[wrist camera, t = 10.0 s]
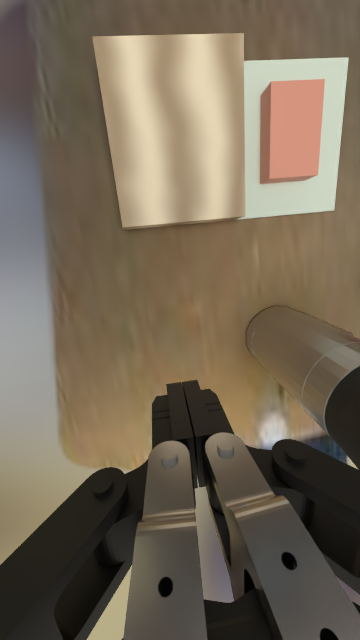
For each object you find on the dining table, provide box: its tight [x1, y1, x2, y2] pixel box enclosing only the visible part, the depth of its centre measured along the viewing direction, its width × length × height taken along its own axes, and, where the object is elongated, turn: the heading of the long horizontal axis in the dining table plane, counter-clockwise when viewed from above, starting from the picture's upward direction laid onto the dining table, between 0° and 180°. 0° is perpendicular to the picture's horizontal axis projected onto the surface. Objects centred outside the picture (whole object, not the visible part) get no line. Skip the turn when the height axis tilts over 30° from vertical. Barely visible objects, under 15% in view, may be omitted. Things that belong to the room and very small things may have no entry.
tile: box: [260, 79, 325, 184], centre depth 28 cm, size 6×9×2 cm, turn 5°
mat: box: [235, 58, 348, 220], centre depth 29 cm, size 14×16×1 cm
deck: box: [93, 33, 245, 230], centre depth 26 cm, size 14×16×4 cm
